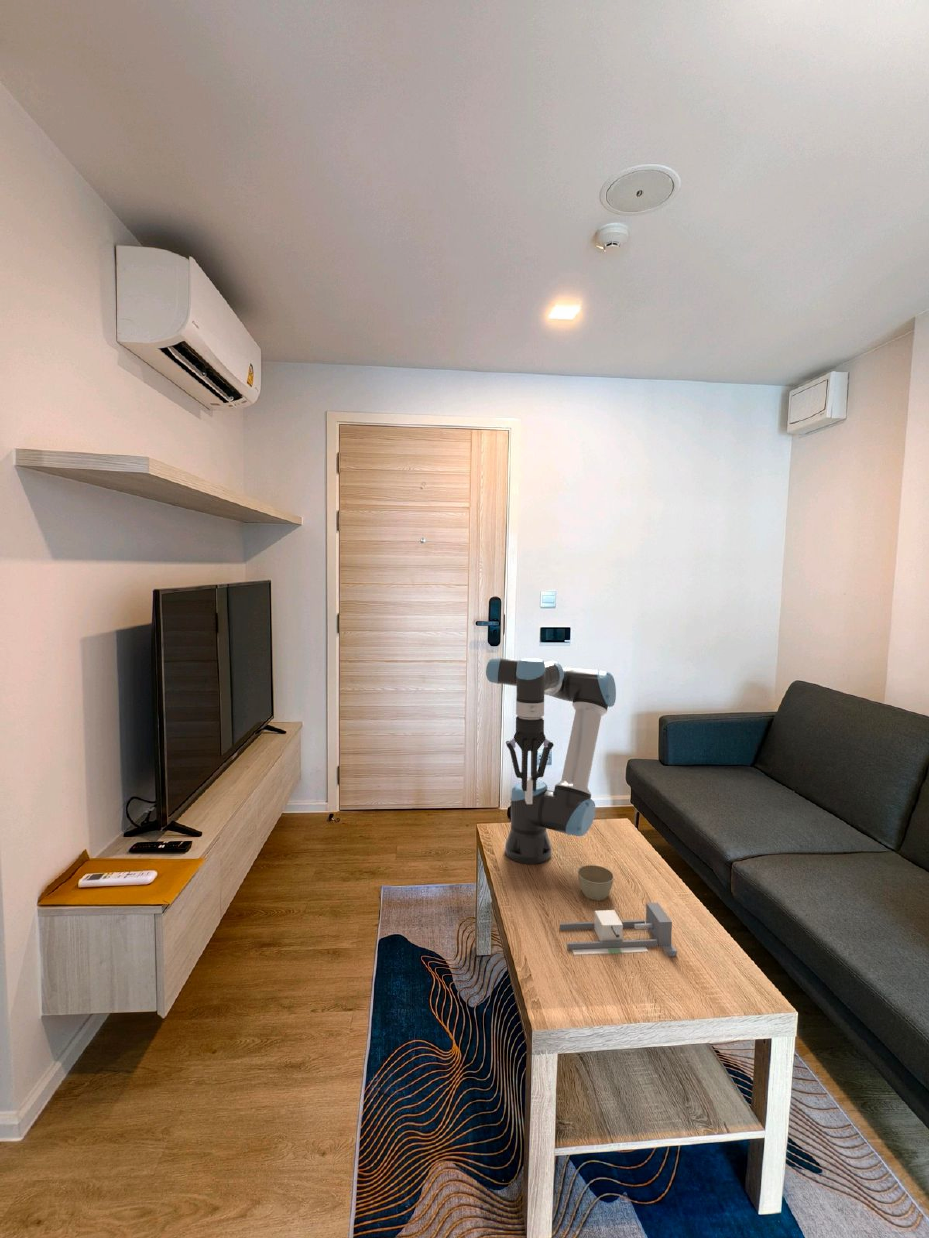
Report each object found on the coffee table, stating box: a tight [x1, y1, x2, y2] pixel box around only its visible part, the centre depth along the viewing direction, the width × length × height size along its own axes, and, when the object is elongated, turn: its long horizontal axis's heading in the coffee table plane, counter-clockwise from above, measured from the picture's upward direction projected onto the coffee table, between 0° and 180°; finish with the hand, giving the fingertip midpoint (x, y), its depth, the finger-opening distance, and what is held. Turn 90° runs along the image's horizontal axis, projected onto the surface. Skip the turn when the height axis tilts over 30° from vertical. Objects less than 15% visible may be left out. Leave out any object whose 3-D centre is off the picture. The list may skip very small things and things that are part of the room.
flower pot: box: [577, 864, 615, 901], centre depth 154 cm, size 10×10×7 cm
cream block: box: [594, 909, 624, 941], centre depth 134 cm, size 10×5×5 cm, turn 4°
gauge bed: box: [558, 902, 678, 957], centre depth 135 cm, size 12×28×7 cm, turn 94°
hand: (528, 802), depth 148 cm, fingers closed
